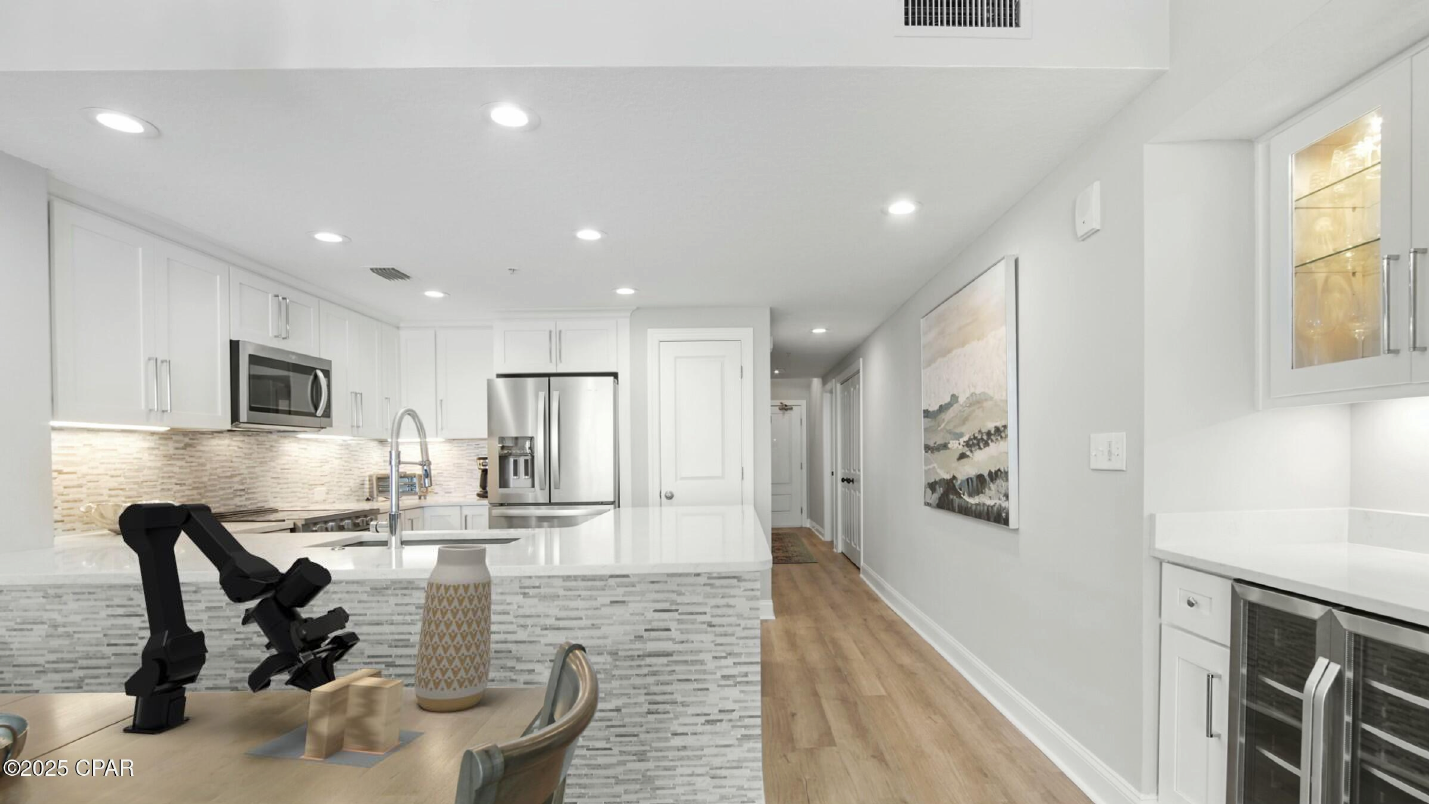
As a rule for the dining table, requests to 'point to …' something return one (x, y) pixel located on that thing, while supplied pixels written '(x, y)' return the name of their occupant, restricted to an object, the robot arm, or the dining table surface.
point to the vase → (455, 631)
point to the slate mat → (295, 745)
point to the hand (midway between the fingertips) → (335, 698)
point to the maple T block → (354, 714)
